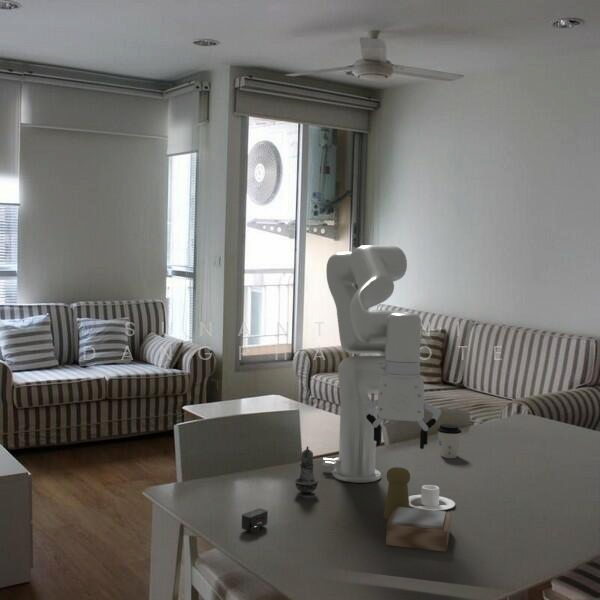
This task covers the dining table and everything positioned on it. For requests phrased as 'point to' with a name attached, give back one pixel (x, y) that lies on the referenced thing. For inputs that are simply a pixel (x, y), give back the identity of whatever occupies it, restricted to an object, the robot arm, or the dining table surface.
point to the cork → (396, 490)
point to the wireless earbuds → (254, 520)
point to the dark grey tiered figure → (306, 477)
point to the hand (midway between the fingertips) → (400, 446)
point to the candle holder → (431, 499)
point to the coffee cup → (448, 440)
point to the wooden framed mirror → (418, 528)
